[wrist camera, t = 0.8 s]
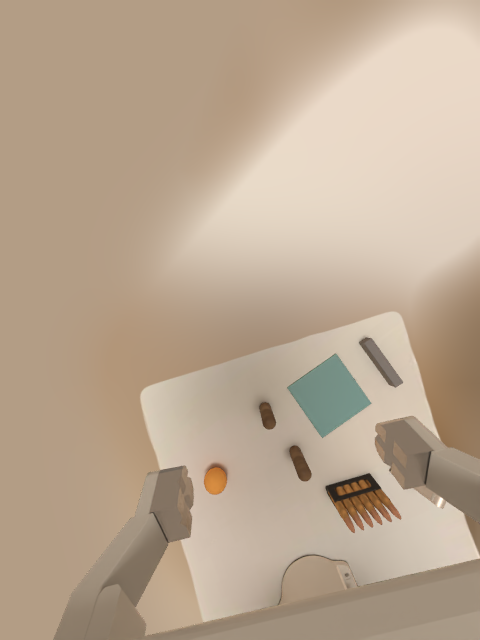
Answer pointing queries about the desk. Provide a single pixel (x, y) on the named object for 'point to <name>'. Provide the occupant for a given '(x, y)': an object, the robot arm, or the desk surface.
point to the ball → (215, 481)
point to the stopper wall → (381, 362)
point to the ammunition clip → (360, 500)
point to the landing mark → (329, 395)
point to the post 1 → (267, 416)
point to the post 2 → (300, 463)
